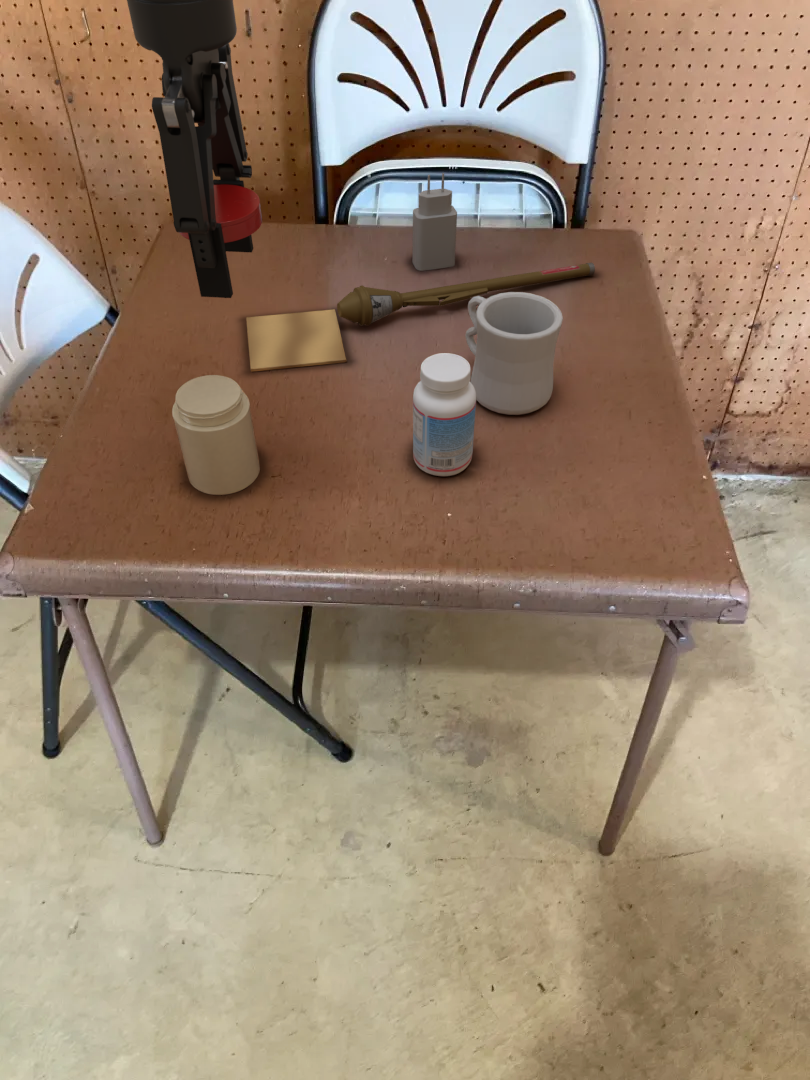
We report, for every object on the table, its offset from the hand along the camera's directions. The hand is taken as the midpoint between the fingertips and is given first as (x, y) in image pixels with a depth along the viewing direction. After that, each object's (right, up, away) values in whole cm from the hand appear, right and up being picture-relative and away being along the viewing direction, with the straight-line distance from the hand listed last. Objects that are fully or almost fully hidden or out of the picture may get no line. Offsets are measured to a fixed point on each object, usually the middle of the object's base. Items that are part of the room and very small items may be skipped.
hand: (228, 271), depth 77 cm
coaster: (+3, -1, +24) cm, 24 cm away
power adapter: (+20, +13, +37) cm, 44 cm away
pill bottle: (+20, -16, +9) cm, 27 cm away
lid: (0, +4, -4) cm, 6 cm away
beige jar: (-2, -18, +8) cm, 19 cm away
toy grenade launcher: (+25, +6, +30) cm, 39 cm away
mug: (+27, -7, +18) cm, 33 cm away
